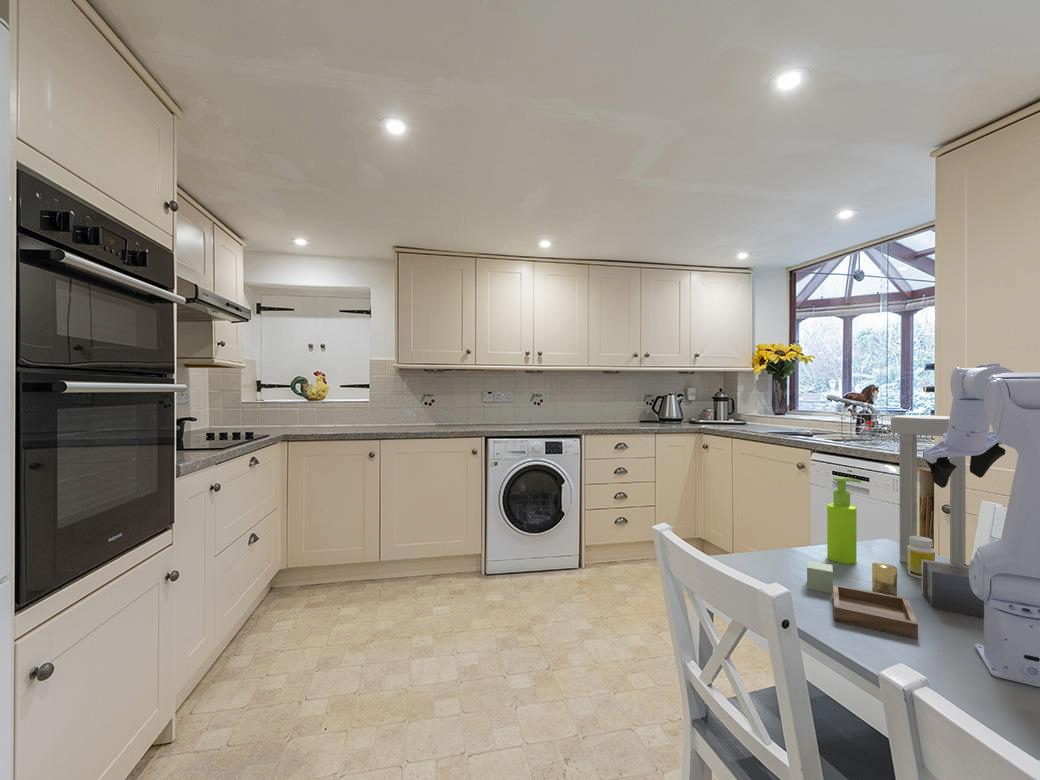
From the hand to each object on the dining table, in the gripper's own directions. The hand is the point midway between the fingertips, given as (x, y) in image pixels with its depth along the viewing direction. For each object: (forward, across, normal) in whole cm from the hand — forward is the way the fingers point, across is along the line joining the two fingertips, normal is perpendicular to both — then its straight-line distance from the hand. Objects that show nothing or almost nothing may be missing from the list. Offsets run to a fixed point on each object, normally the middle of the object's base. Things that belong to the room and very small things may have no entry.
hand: (957, 479), depth 96 cm
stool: (+31, -3, -5) cm, 31 cm away
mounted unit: (+16, +12, +15) cm, 25 cm away
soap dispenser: (+26, +17, -8) cm, 32 cm away
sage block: (+15, +32, +5) cm, 35 cm away
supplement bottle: (+24, +7, +2) cm, 25 cm away
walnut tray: (+9, +30, +16) cm, 35 cm away
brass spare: (+15, +22, +10) cm, 28 cm away
